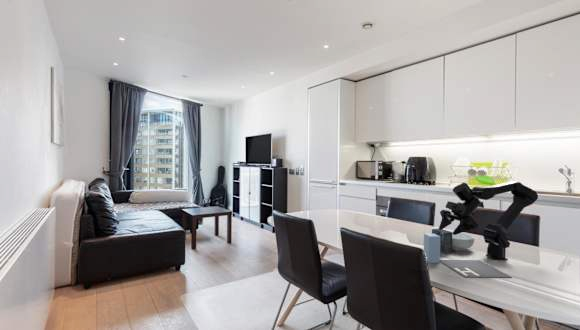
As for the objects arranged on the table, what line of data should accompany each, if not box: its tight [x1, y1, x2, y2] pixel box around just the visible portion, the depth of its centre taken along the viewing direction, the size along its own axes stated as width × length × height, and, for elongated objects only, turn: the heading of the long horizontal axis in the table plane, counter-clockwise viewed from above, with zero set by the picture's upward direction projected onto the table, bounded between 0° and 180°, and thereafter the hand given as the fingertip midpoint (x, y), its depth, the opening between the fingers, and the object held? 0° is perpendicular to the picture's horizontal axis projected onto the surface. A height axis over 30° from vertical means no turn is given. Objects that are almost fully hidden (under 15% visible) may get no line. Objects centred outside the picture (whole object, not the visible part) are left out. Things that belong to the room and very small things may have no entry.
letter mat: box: [440, 259, 512, 279], centre depth 122 cm, size 19×19×1 cm
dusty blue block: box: [423, 233, 441, 264], centre depth 131 cm, size 5×5×12 cm
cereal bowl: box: [451, 231, 475, 251], centre depth 151 cm, size 17×17×7 cm
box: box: [431, 228, 453, 255], centre depth 146 cm, size 8×6×11 cm
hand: (446, 231), depth 132 cm, fingers open, 9 cm apart
